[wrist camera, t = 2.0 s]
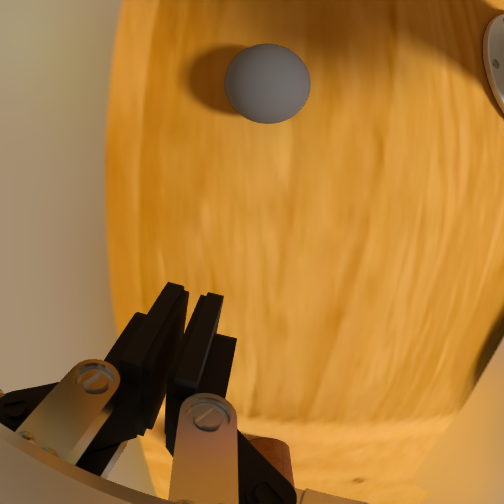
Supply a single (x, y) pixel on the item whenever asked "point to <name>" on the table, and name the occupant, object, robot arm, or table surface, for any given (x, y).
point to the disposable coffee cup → (276, 455)
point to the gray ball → (267, 83)
